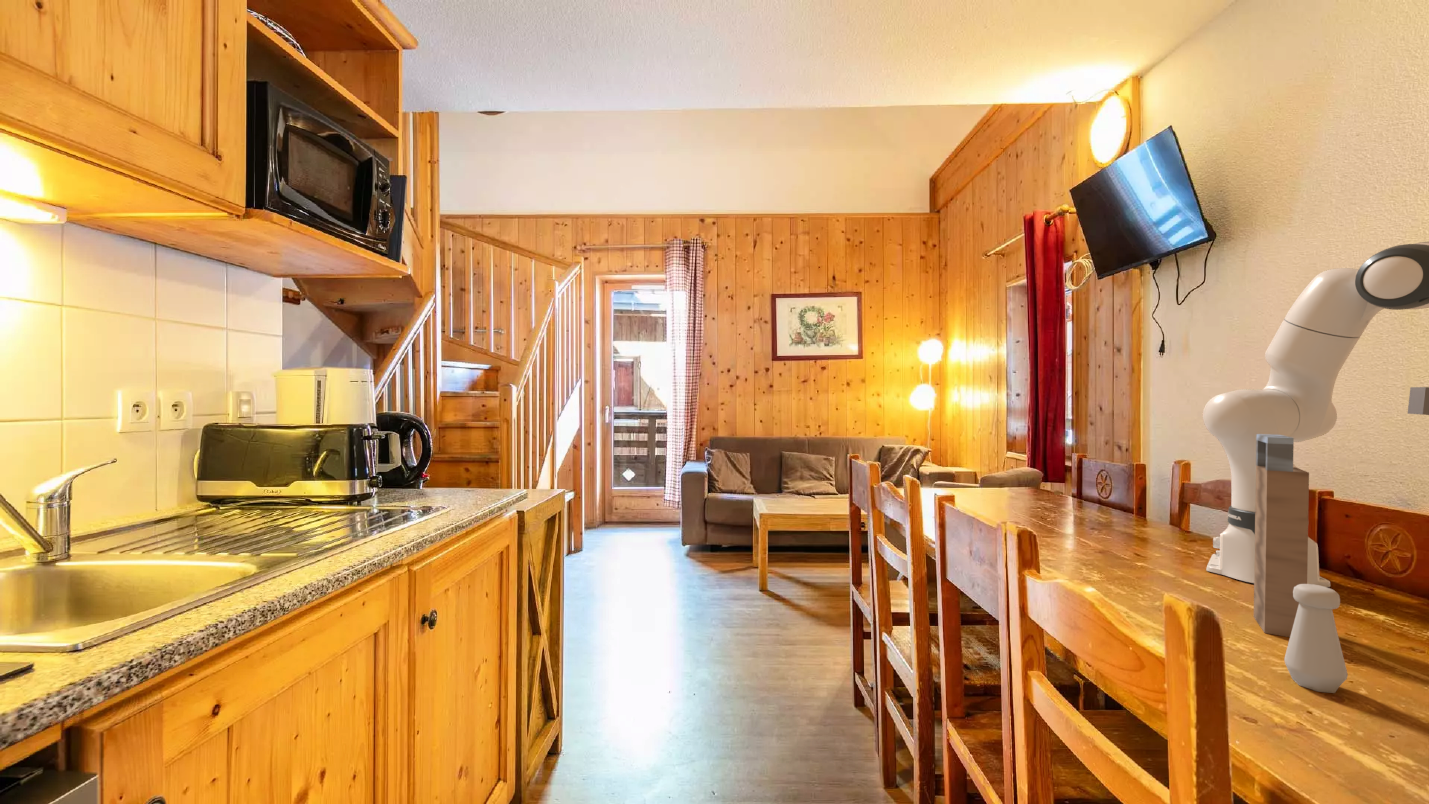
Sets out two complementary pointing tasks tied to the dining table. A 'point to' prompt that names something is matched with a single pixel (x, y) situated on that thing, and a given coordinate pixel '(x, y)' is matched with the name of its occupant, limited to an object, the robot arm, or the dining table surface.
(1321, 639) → the salt shaker
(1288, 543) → the post
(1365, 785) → the dining table surface
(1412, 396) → the cream bar
